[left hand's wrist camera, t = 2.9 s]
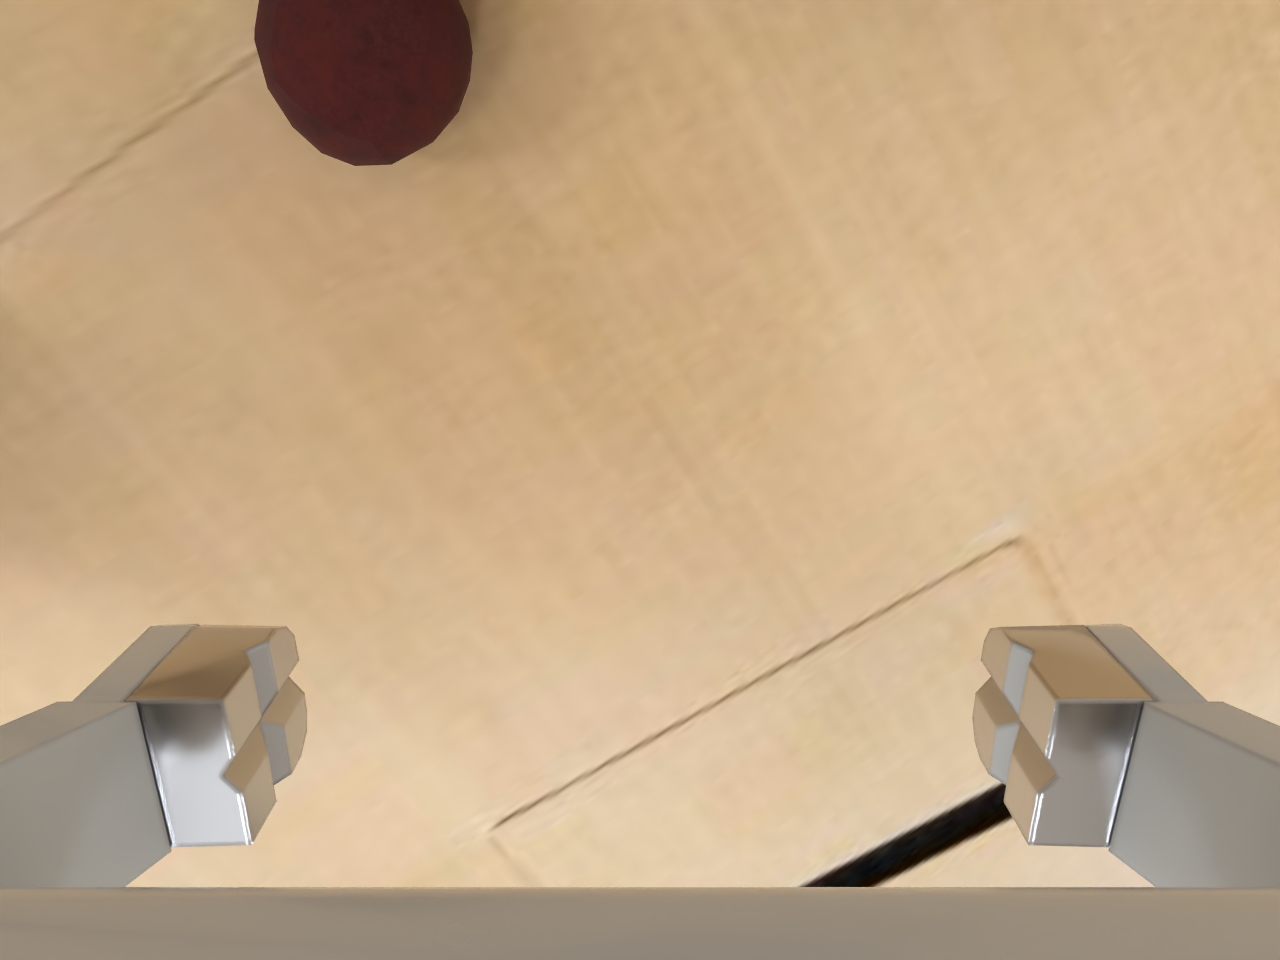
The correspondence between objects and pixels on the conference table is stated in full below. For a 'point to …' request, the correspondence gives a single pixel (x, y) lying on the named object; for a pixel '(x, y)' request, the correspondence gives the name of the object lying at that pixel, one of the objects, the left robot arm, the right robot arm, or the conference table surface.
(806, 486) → the conference table surface
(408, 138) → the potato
